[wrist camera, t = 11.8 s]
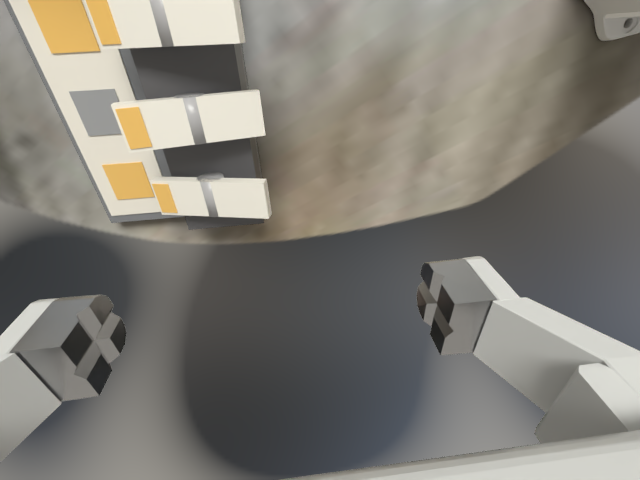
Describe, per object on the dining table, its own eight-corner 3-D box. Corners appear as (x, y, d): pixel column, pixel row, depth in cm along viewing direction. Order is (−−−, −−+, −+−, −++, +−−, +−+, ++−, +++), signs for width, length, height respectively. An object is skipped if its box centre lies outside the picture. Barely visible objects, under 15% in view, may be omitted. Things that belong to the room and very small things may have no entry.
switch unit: (225, -59, 25) (213, -78, 21) (266, 204, 39) (264, 227, 34) (-8, -51, 24) (-75, -70, 20) (116, 216, 38) (94, 242, 33)
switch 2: (255, 87, 27) (259, 91, 25) (261, 129, 29) (265, 135, 27) (117, 99, 25) (110, 105, 23) (134, 144, 27) (129, 153, 25)
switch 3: (270, 173, 29) (263, 183, 27) (275, 207, 31) (268, 219, 29) (163, 171, 31) (148, 181, 29) (174, 203, 33) (161, 215, 31)
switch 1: (243, -21, 21) (228, -26, 19) (252, 41, 23) (239, 43, 21) (104, -10, 23) (78, -13, 21) (123, 47, 25) (101, 49, 23)
